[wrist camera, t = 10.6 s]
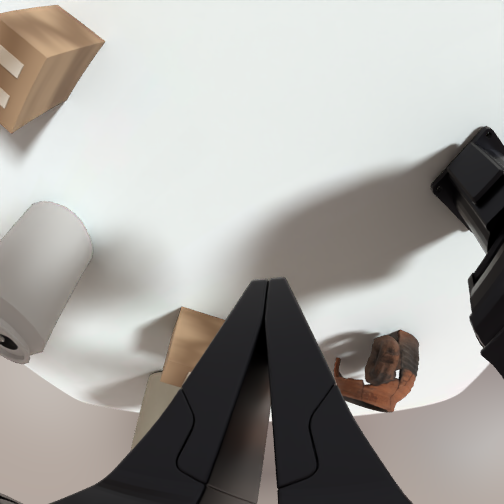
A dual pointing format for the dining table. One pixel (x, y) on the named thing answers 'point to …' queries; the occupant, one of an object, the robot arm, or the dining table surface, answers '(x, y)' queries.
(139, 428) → the travel mug
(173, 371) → the marked block 2
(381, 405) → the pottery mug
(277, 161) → the dining table surface
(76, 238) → the can
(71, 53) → the marked block 1
